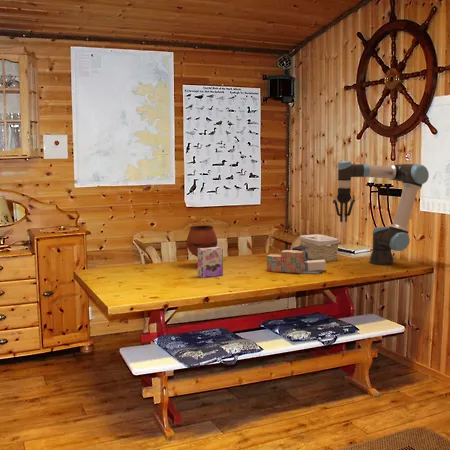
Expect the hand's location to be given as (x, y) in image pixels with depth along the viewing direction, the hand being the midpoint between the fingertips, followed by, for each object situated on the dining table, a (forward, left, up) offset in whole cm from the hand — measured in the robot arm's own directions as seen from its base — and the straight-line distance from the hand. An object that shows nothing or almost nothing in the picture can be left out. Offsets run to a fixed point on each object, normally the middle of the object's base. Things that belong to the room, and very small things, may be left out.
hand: (343, 227), depth 341 cm
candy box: (+78, +14, -27) cm, 84 cm away
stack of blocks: (+34, +2, -26) cm, 43 cm away
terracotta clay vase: (+85, -14, -27) cm, 90 cm away
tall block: (+10, 0, -22) cm, 25 cm away
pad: (+19, 0, -26) cm, 33 cm away
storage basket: (+9, -39, -27) cm, 48 cm away
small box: (+23, -24, -27) cm, 43 cm away
